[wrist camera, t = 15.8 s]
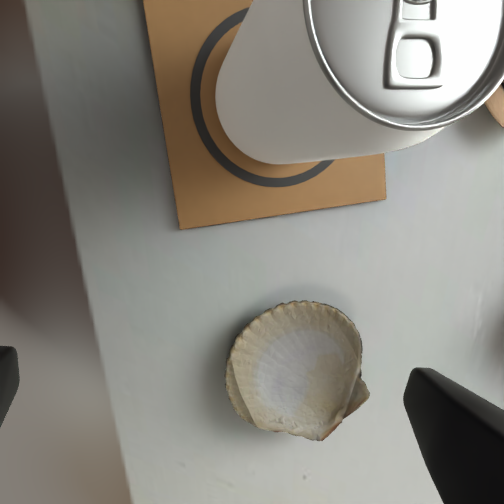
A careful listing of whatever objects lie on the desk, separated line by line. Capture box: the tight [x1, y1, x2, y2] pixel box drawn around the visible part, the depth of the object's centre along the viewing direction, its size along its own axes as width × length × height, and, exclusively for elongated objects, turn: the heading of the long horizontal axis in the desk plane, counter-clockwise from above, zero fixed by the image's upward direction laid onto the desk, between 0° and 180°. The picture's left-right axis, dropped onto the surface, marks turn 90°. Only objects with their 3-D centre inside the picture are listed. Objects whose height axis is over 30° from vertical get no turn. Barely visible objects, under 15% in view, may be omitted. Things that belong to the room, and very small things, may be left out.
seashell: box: [225, 301, 370, 441], centre depth 22 cm, size 8×3×8 cm
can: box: [215, 0, 504, 164], centre depth 14 cm, size 6×6×12 cm
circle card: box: [143, 0, 386, 230], centre depth 20 cm, size 12×12×1 cm
